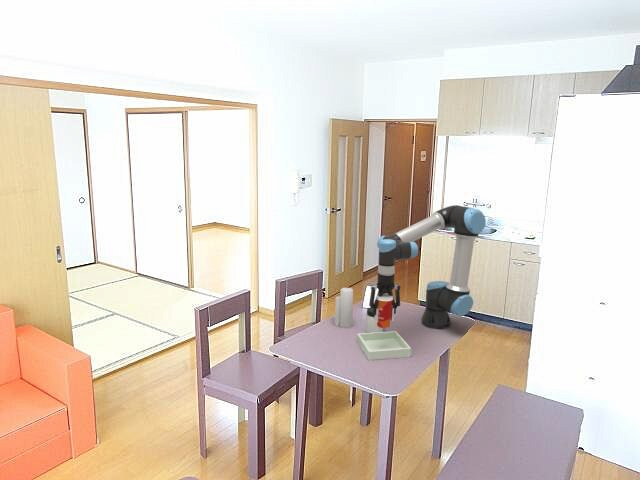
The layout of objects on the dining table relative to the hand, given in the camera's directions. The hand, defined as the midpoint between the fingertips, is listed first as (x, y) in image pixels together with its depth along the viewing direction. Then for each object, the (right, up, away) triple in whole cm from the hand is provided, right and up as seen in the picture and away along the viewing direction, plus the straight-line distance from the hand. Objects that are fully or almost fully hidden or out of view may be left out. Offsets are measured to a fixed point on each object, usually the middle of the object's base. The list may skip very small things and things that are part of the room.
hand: (383, 320), depth 220 cm
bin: (0, -14, +3) cm, 14 cm away
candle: (-18, -8, +32) cm, 37 cm away
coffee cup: (0, -3, +1) cm, 3 cm away
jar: (-2, -10, +23) cm, 25 cm away
